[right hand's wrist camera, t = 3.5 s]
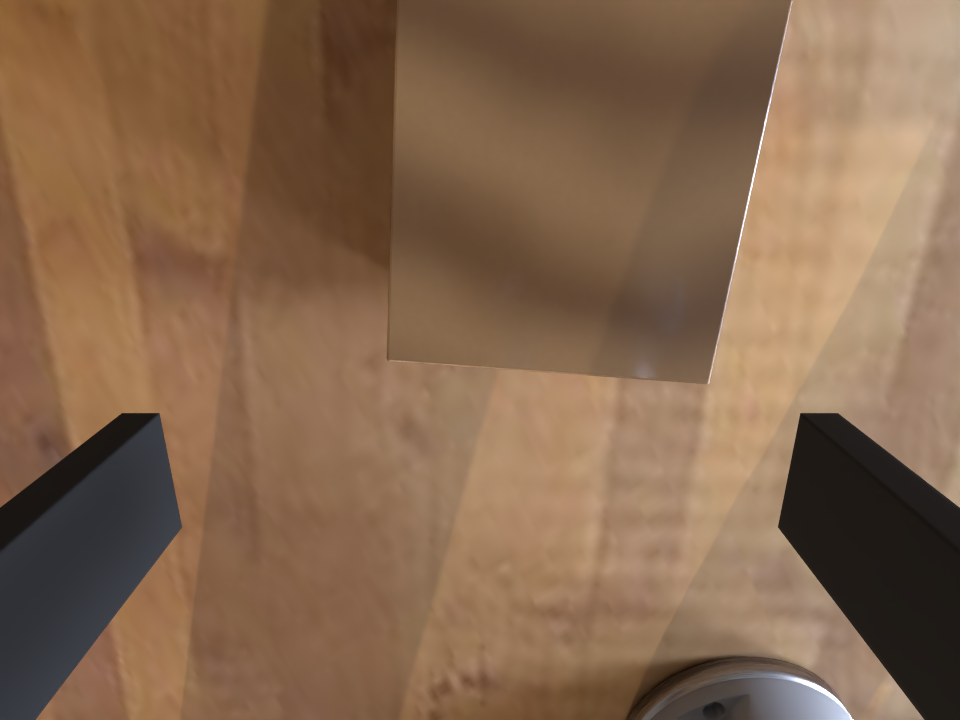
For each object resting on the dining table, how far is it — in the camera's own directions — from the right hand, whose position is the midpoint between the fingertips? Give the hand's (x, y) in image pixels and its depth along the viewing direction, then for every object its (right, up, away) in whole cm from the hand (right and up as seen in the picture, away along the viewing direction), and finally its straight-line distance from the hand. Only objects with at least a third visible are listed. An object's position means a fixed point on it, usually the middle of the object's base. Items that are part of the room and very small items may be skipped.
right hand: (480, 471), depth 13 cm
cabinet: (+3, +15, +15) cm, 21 cm away
